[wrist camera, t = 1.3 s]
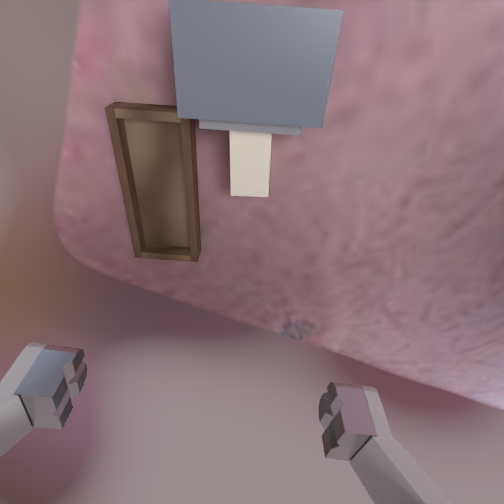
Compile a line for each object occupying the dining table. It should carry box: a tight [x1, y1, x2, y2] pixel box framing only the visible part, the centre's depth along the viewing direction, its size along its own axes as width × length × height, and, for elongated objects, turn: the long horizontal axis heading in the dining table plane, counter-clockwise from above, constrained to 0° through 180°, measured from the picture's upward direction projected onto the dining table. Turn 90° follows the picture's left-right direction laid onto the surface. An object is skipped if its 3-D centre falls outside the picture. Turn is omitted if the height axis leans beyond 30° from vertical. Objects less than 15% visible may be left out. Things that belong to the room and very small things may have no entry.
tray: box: [105, 102, 201, 262], centre depth 29 cm, size 6×14×2 cm, turn 177°
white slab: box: [229, 131, 272, 197], centre depth 24 cm, size 3×11×5 cm, turn 179°
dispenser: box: [169, 0, 344, 136], centre depth 21 cm, size 9×7×6 cm
